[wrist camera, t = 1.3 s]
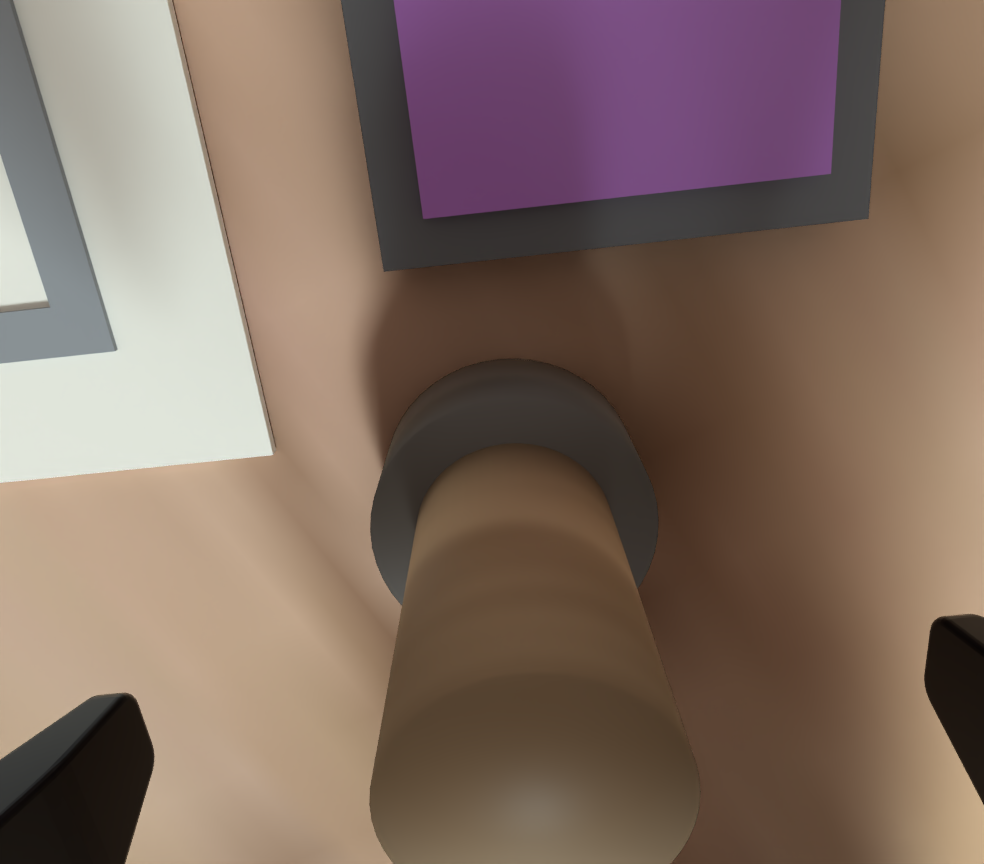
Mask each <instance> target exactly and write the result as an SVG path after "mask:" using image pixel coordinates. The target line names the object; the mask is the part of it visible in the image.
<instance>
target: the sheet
mask: <svg viewBox="0 0 984 864" xmlns="http://www.w3.org/2000/svg"><path fill="white" fill-rule="evenodd" d="M275 451H276V448H275V443H274V439H273V435H272V430H271V426H270V422H269V417H268V413H267V409H266V404H265V400H264V396H263V391H262V387H261V383H260V378H259V374H258V370H257V365H256V361H255V357H254V352H253V348H252V344H251V339H250V335H249V331H248V326H247V322H246V318H245V313H244V309H243V305H242V300H241V296H240V292H239V287H238V283H237V279H236V274H235V270H234V266H233V261H232V257H231V253H230V249H229V244H228V240H227V236H226V231H225V227H224V223H223V218H222V214H221V210H220V205H219V201H218V197H217V192H216V188H215V184H214V179H213V175H212V171H211V166H210V162H209V158H208V153H207V149H206V145H205V140H204V136H203V132H202V127H201V123H200V119H199V114H198V110H197V106H196V101H195V97H194V93H193V88H192V84H191V80H190V75H189V71H188V67H187V62H186V58H185V54H184V49H183V45H182V41H181V36H180V32H179V28H178V23H177V19H176V15H175V10H174V6H173V2H172V0H0V483H3V482H13V481H23V480H33V479H43V478H52V477H62V476H72V475H82V474H91V473H101V472H111V471H121V470H131V469H140V468H150V467H160V466H170V465H180V464H189V463H199V462H209V461H219V460H228V459H238V458H248V457H258V456H268V455H273V454H274V453H275Z"/></svg>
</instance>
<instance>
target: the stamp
mask: <svg viewBox="0 0 984 864" xmlns="http://www.w3.org/2000/svg"><path fill="white" fill-rule="evenodd" d="M370 532H371V541H372V549H373V552H374V556H375V560H376V564H377V566H378V568H379V571H380V573H381V575H382V578H383V580H384V581H385V583H386V585H387V586H388V588H389V590H390V591H391V593H392V594H393V595H394V597H395V598H396V599H397V600H398V602H399V603H400V604H401V605H402V609H401V615H400V621H399V626H398V632H397V638H396V644H395V649H394V655H393V661H392V666H391V672H390V678H389V683H388V689H387V695H386V701H385V706H384V712H383V718H382V723H381V729H380V735H379V740H378V746H377V752H376V757H375V763H374V769H373V775H372V780H371V786H370V812H371V819H372V823H373V826H374V829H375V832H376V836H377V838H378V840H379V842H380V844H381V846H382V847H383V849H384V851H385V852H386V854H387V855H388V857H389V858H390V859H391V861H392V862H393V864H671V863H672V861H673V860H674V859H675V858H676V857H677V855H678V854H679V853H680V851H681V850H682V848H683V847H684V845H685V844H686V842H687V840H688V839H689V837H690V834H691V832H692V830H693V827H694V825H695V822H696V818H697V815H698V811H699V804H700V792H701V791H700V780H699V773H698V770H697V766H696V763H695V759H694V756H693V753H692V750H691V747H690V744H689V741H688V738H687V735H686V732H685V729H684V726H683V723H682V720H681V717H680V714H679V712H678V709H677V706H676V703H675V700H674V697H673V694H672V691H671V688H670V685H669V682H668V679H667V676H666V673H665V670H664V667H663V664H662V661H661V658H660V655H659V652H658V649H657V646H656V643H655V640H654V637H653V634H652V631H651V628H650V625H649V622H648V619H647V616H646V614H645V611H644V608H643V605H642V602H641V599H640V596H639V593H638V590H637V589H638V587H639V586H640V584H641V583H642V581H643V579H644V577H645V575H646V573H647V571H648V569H649V567H650V564H651V561H652V558H653V555H654V553H655V548H656V542H657V537H658V510H657V502H656V498H655V494H654V490H653V486H652V484H651V482H650V479H649V477H648V475H647V472H646V470H645V468H644V466H643V464H642V462H641V460H640V458H639V456H638V453H637V451H636V449H635V447H634V445H633V443H632V441H631V439H630V437H629V435H628V433H627V431H626V428H625V426H624V424H623V422H622V421H621V419H620V417H619V416H618V414H617V412H616V411H615V409H614V408H613V407H612V406H611V404H610V403H609V402H608V401H607V399H606V398H605V397H604V396H603V395H602V394H601V393H600V392H598V391H597V390H596V389H595V388H594V387H593V386H592V385H590V384H589V383H587V382H586V381H584V380H583V379H582V378H580V377H578V376H576V375H574V374H572V373H571V372H569V371H567V370H565V369H562V368H559V367H556V366H553V365H551V364H547V363H543V362H538V361H533V360H524V359H497V360H491V361H485V362H480V363H477V364H473V365H470V366H467V367H464V368H462V369H459V370H457V371H455V372H453V373H450V374H448V375H447V376H445V377H444V378H442V379H440V380H439V381H437V382H435V383H434V384H433V385H432V386H430V387H429V388H428V389H427V390H425V391H424V392H423V393H422V394H421V395H420V396H419V397H418V398H417V399H416V400H415V401H414V402H413V403H412V405H411V406H410V407H409V409H408V410H407V411H406V413H405V414H404V416H403V417H402V419H401V421H400V423H399V425H398V427H397V429H396V430H395V433H394V436H393V439H392V441H391V444H390V447H389V451H388V454H387V457H386V460H385V464H384V467H383V470H382V474H381V477H380V480H379V483H378V487H377V490H376V493H375V496H374V501H373V506H372V512H371V528H370Z"/></svg>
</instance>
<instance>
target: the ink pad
mask: <svg viewBox="0 0 984 864" xmlns="http://www.w3.org/2000/svg"><path fill="white" fill-rule="evenodd" d="M341 4H342V10H343V16H344V22H345V29H346V35H347V41H348V48H349V54H350V60H351V67H352V73H353V79H354V86H355V92H356V98H357V105H358V111H359V117H360V124H361V130H362V136H363V143H364V149H365V155H366V162H367V168H368V174H369V181H370V187H371V193H372V200H373V206H374V212H375V219H376V225H377V231H378V238H379V244H380V250H381V257H382V263H383V269H384V272H385V271H394V270H403V269H413V268H422V267H431V266H440V265H449V264H458V263H467V262H477V261H486V260H495V259H504V258H513V257H522V256H532V255H541V254H550V253H559V252H568V251H577V250H587V249H596V248H605V247H614V246H623V245H632V244H642V243H651V242H660V241H669V240H678V239H687V238H697V237H706V236H715V235H724V234H733V233H742V232H751V231H761V230H770V229H779V228H788V227H797V226H806V225H816V224H825V223H834V222H843V221H852V220H861V219H868V216H869V203H870V190H871V177H872V164H873V151H874V138H875V125H876V112H877V99H878V86H879V73H880V60H881V47H882V34H883V21H884V8H885V0H341Z"/></svg>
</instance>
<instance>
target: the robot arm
mask: <svg viewBox="0 0 984 864" xmlns="http://www.w3.org/2000/svg"><path fill="white" fill-rule="evenodd" d="M924 681H925V688H926V692H927V695H928V698H929V700H930V702H931V704H932V706H933V708H934V710H935V712H936V714H937V716H938V718H939V720H940V722H941V724H942V725H943V727H944V729H945V731H946V733H947V735H948V737H949V739H950V741H951V743H952V745H953V747H954V749H955V750H956V752H957V754H958V756H959V758H960V760H961V762H962V764H963V766H964V768H965V770H966V772H967V773H968V775H969V777H970V779H971V781H972V783H973V785H974V787H975V789H976V791H977V793H978V795H979V797H980V798H981V800H982V802H983V804H984V617H981V616H979V615H975V614H963V615H953V616H942V617H939V618H937V619H936V620H935V621H934V622H933V624H932V625H931V629H930V636H929V643H928V651H927V659H926V667H925V674H924ZM153 766H154V749H153V745H152V742H151V739H150V736H149V733H148V730H147V728H146V725H145V722H144V719H143V716H142V713H141V710H140V708H139V705H138V702H137V700H136V699H135V698H134V696H133V695H131V694H128V693H116V694H105V695H97V696H94V697H91V698H90V699H88V700H86V701H85V702H84V703H82V704H81V705H79V706H78V707H76V708H75V709H73V710H72V711H70V712H69V713H68V714H66V715H65V716H63V717H62V718H60V719H59V720H57V721H56V722H54V723H53V724H52V725H50V726H49V727H47V728H46V729H44V730H43V731H41V732H40V733H38V734H37V735H36V736H34V737H33V738H31V739H30V740H28V741H27V742H25V743H24V744H22V745H21V746H20V747H18V748H17V749H15V750H14V751H12V752H11V753H9V754H8V755H6V756H5V757H4V758H2V759H1V760H0V864H125V862H126V859H127V855H128V852H129V849H130V845H131V842H132V839H133V835H134V832H135V829H136V825H137V822H138V818H139V815H140V812H141V808H142V805H143V802H144V798H145V795H146V791H147V788H148V785H149V781H150V778H151V775H152V771H153Z"/></svg>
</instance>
